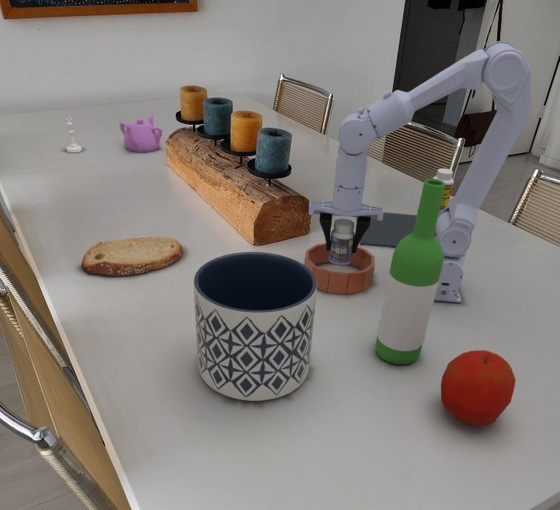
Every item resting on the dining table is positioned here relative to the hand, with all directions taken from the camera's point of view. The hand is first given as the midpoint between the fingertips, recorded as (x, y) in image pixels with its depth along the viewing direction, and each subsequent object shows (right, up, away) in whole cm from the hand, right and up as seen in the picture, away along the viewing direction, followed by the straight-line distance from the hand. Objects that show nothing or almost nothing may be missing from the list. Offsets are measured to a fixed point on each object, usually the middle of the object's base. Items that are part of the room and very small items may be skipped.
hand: (341, 249), depth 112 cm
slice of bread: (-44, -1, +6) cm, 45 cm away
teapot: (-58, +49, +67) cm, 101 cm away
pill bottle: (0, -2, +2) cm, 3 cm away
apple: (+16, -32, -28) cm, 46 cm away
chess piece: (-78, +46, +62) cm, 110 cm away
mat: (+17, +10, +24) cm, 31 cm away
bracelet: (0, -5, +4) cm, 6 cm away
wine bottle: (+8, -22, -17) cm, 29 cm away
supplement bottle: (+30, +19, +37) cm, 51 cm away
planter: (-17, -25, -22) cm, 37 cm away
